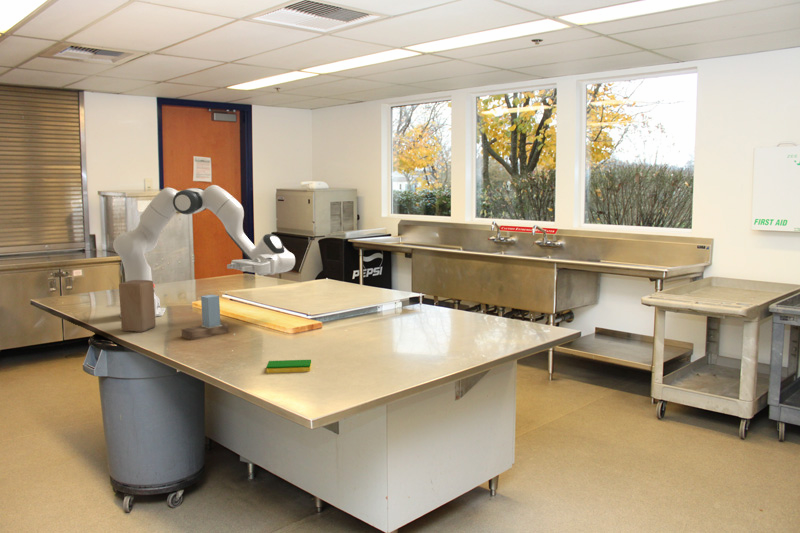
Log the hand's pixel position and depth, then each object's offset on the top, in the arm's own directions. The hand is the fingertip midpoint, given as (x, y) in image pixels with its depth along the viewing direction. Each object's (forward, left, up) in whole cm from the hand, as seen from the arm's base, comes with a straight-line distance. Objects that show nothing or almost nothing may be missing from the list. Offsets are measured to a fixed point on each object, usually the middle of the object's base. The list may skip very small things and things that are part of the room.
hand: (234, 267), depth 263 cm
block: (-1, -40, -25) cm, 48 cm away
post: (+8, -8, -22) cm, 25 cm away
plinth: (+11, -10, -25) cm, 29 cm away
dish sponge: (+61, +29, -26) cm, 72 cm away
